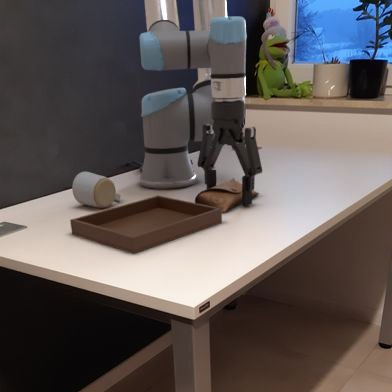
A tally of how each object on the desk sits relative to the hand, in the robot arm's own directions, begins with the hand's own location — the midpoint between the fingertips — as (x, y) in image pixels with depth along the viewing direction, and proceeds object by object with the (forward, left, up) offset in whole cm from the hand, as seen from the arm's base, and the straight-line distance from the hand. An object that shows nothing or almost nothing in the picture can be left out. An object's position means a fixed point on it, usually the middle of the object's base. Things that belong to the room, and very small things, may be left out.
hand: (228, 201), depth 129 cm
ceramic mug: (-24, -20, 0) cm, 31 cm away
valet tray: (0, -26, 0) cm, 26 cm away
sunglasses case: (0, 0, 0) cm, 0 cm away
